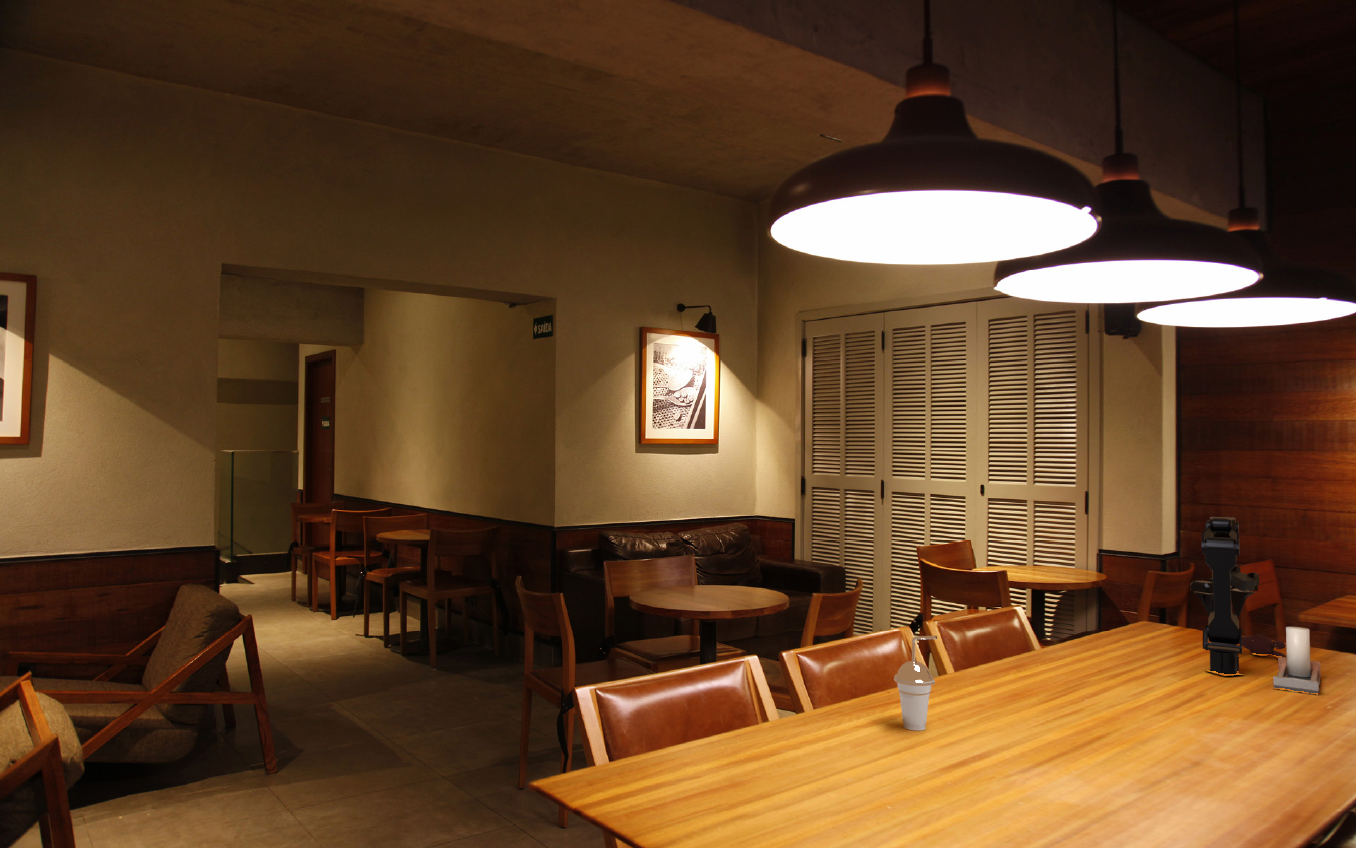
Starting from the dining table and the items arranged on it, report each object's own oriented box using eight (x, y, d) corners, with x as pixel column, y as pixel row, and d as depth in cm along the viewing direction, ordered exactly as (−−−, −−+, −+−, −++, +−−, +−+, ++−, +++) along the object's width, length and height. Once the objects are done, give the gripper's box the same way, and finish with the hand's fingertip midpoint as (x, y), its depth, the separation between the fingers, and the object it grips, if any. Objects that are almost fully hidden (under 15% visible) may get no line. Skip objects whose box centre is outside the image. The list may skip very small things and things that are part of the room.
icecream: (1223, 631, 257) (1278, 645, 244) (1237, 623, 261) (1292, 636, 248) (1225, 653, 259) (1279, 668, 245) (1238, 644, 262) (1293, 658, 249)
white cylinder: (1310, 678, 222) (1309, 631, 223) (1286, 675, 225) (1285, 628, 226) (1310, 674, 226) (1309, 628, 227) (1287, 671, 229) (1286, 626, 230)
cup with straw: (918, 719, 188) (918, 627, 189) (945, 732, 180) (944, 635, 181) (885, 723, 185) (885, 630, 186) (911, 736, 177) (911, 638, 178)
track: (1318, 695, 210) (1317, 676, 210) (1273, 689, 215) (1273, 671, 216) (1320, 678, 226) (1320, 661, 227) (1279, 673, 232) (1278, 656, 232)
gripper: (1223, 565, 235) (1224, 623, 234) (1275, 563, 240) (1276, 620, 239) (1188, 561, 245) (1189, 616, 245) (1239, 559, 251) (1240, 613, 250)
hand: (1224, 616), depth 244 cm, fingers open, 9 cm apart
